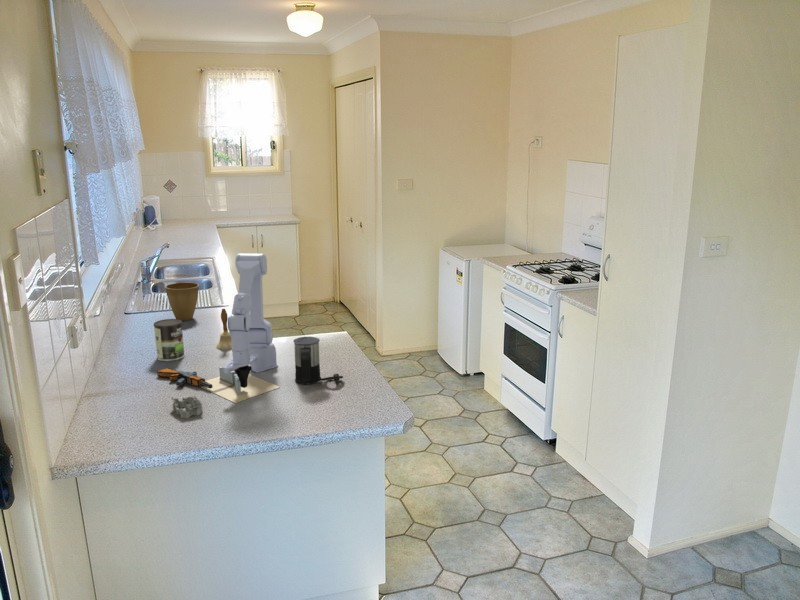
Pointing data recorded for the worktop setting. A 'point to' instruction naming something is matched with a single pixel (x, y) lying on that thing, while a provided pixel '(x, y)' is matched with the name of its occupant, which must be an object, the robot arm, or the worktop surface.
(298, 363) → the milk frother
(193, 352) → the worktop surface
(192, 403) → the grey rock
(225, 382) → the card
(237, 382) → the fence hinged panel
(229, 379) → the fence fixed panel
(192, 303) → the plant pot
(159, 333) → the coffee can
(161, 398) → the worktop surface
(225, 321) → the hand bell
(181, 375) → the toy
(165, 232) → the worktop surface
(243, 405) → the worktop surface
